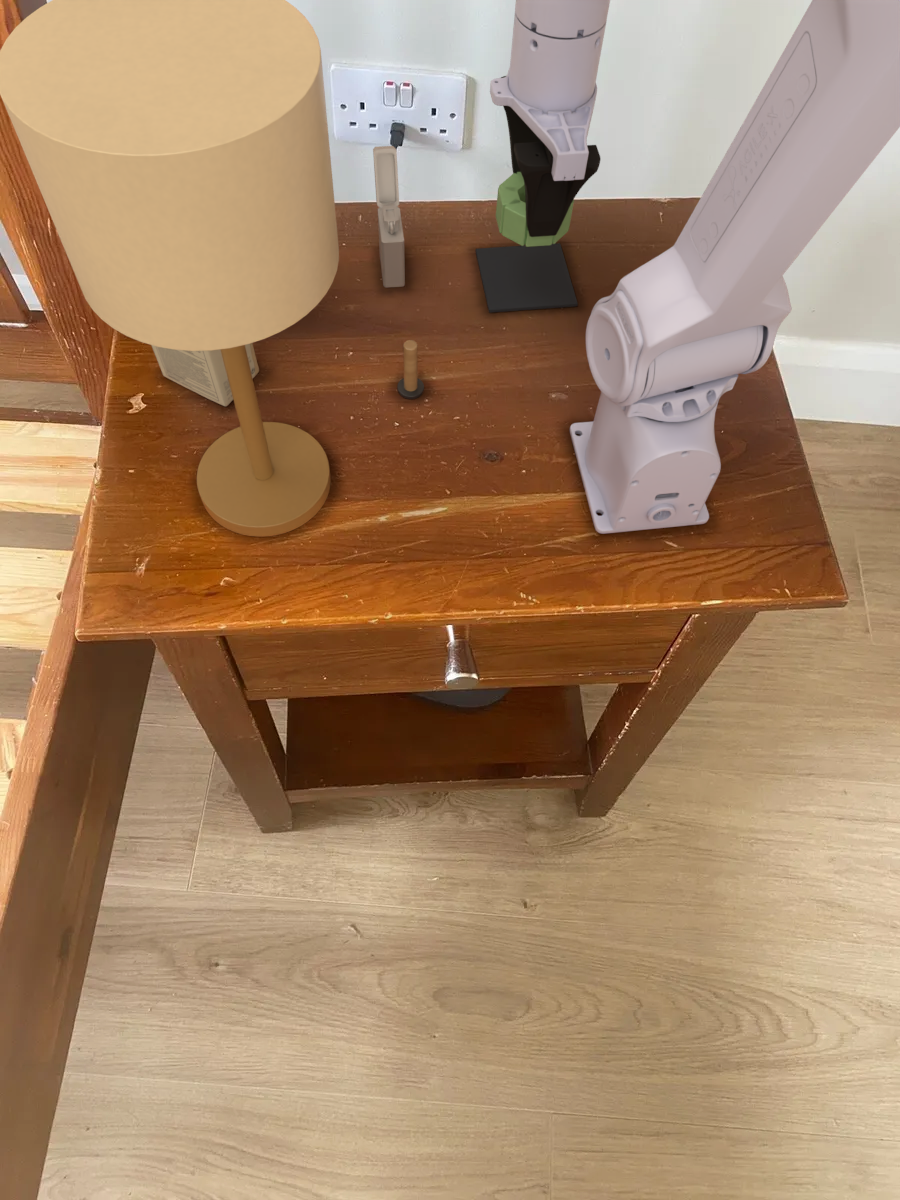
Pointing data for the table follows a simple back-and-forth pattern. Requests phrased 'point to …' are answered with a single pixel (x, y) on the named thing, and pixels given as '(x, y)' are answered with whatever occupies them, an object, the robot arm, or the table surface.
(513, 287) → the coaster
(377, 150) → the lighter
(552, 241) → the ring
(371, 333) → the table surface
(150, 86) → the lamp
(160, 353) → the cosmetic box
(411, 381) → the peg
